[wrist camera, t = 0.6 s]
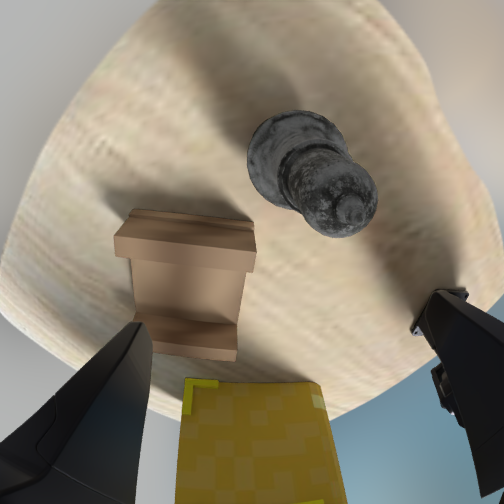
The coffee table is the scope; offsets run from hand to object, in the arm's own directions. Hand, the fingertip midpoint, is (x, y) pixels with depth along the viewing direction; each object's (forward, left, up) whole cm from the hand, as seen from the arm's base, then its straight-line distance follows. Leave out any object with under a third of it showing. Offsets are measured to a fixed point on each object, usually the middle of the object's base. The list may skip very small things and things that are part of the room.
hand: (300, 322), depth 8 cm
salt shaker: (-1, -3, -13) cm, 14 cm away
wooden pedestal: (+5, +8, -13) cm, 16 cm away
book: (-4, +25, -13) cm, 29 cm away
